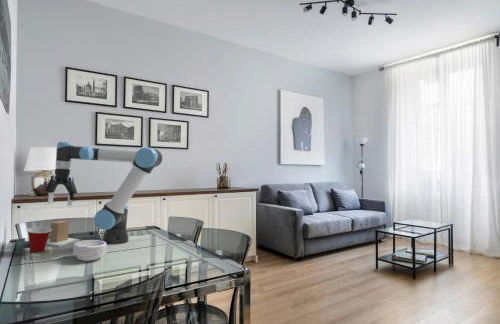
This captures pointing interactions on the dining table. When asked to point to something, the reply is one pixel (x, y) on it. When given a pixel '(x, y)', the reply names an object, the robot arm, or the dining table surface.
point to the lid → (60, 234)
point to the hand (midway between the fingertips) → (59, 204)
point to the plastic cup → (38, 238)
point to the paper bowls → (89, 249)
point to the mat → (61, 246)
